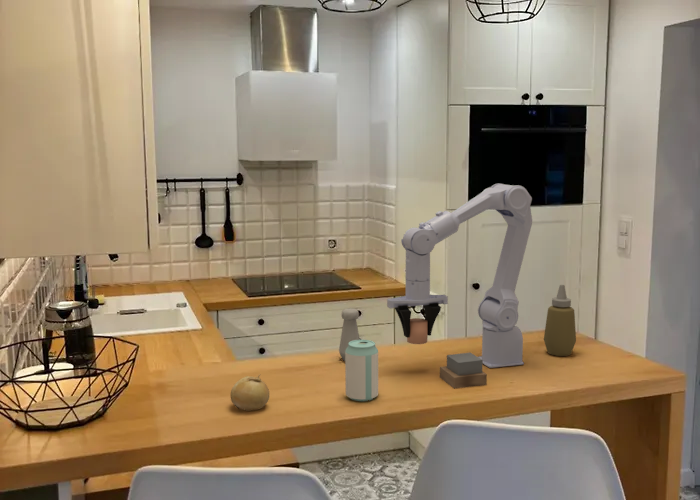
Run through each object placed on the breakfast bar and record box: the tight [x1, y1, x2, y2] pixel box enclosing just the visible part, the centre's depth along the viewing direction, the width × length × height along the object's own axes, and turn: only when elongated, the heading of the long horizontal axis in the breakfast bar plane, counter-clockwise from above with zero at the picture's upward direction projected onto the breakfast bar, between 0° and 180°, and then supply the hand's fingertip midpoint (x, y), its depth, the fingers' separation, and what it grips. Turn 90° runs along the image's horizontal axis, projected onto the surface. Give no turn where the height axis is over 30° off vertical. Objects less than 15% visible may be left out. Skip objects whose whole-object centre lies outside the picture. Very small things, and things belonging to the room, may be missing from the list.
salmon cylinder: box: [406, 317, 428, 345], centre depth 169 cm, size 5×5×5 cm
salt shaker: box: [338, 307, 361, 362], centre depth 179 cm, size 6×6×13 cm
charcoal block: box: [446, 352, 484, 376], centre depth 163 cm, size 6×6×3 cm
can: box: [344, 339, 379, 402], centre depth 153 cm, size 7×7×12 cm
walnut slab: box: [439, 365, 488, 389], centre depth 164 cm, size 8×8×3 cm
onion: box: [230, 373, 270, 412], centre depth 148 cm, size 8×8×7 cm
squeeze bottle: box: [543, 284, 577, 357], centre depth 183 cm, size 8×8×18 cm
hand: (417, 335), depth 169 cm, fingers closed on salmon cylinder, 5 cm apart
